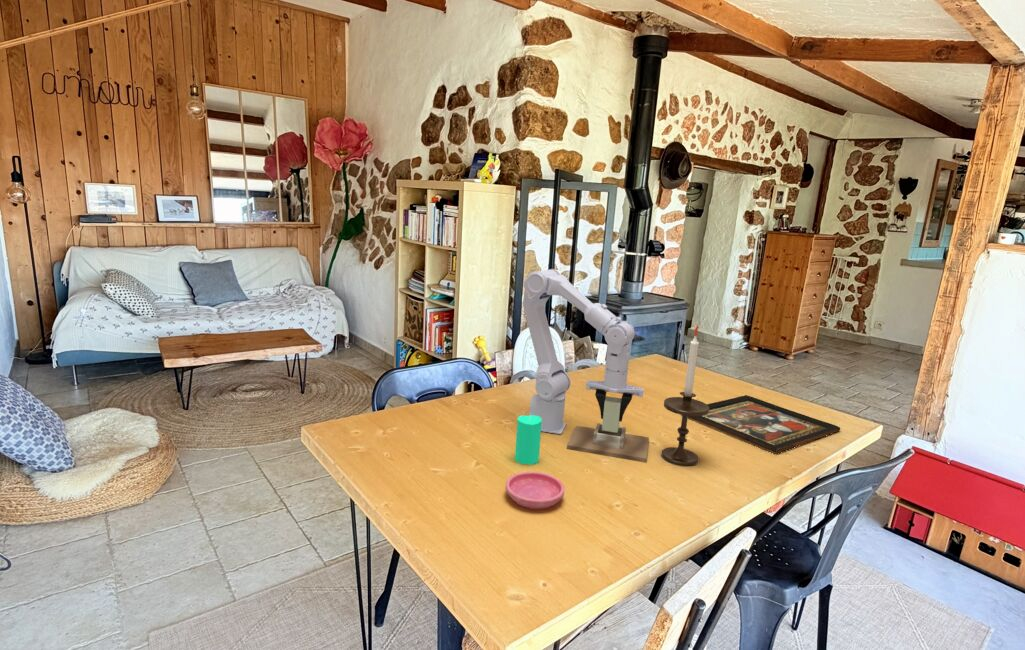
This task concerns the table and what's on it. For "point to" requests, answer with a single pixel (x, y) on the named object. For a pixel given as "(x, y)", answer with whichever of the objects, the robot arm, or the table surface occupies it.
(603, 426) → the rectangular block
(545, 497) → the saucer
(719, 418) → the religious icon
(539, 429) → the green upright cylinder
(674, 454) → the candlestick
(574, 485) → the table surface
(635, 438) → the brown socket board
